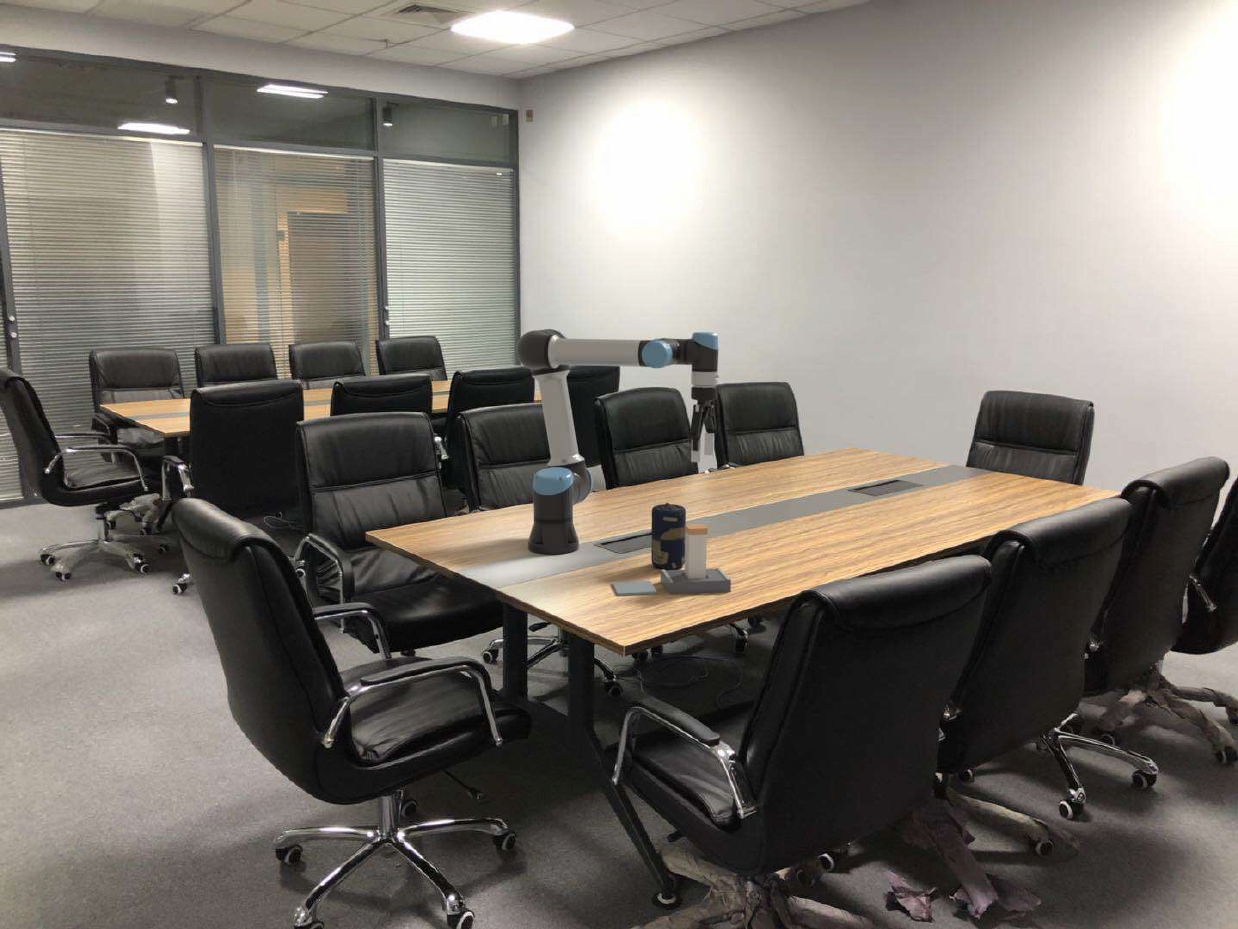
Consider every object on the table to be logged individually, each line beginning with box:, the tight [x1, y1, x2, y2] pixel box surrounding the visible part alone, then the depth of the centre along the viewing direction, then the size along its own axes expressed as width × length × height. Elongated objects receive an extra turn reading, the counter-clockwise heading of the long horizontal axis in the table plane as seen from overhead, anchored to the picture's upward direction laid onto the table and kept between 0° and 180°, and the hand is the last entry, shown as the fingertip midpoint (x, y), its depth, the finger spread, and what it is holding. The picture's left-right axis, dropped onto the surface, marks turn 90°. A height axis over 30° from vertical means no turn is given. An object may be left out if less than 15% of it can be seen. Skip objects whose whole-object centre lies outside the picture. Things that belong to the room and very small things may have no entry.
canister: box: [650, 502, 687, 570], centre depth 269 cm, size 10×10×18 cm
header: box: [660, 566, 732, 595], centre depth 251 cm, size 16×11×3 cm
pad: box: [611, 579, 658, 596], centre depth 249 cm, size 10×10×1 cm
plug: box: [684, 523, 708, 579], centre depth 250 cm, size 5×5×16 cm
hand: (702, 458), depth 284 cm, fingers open, 13 cm apart
